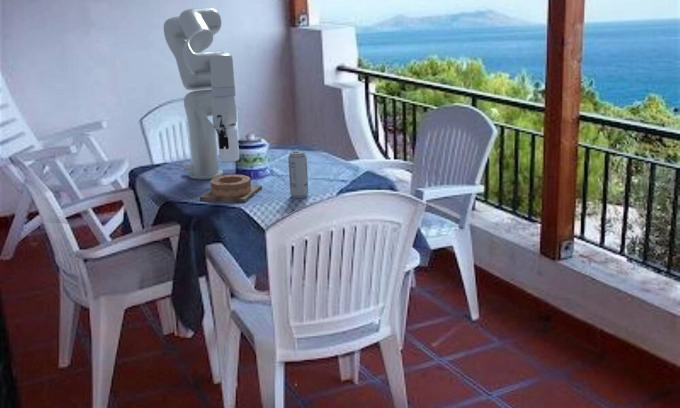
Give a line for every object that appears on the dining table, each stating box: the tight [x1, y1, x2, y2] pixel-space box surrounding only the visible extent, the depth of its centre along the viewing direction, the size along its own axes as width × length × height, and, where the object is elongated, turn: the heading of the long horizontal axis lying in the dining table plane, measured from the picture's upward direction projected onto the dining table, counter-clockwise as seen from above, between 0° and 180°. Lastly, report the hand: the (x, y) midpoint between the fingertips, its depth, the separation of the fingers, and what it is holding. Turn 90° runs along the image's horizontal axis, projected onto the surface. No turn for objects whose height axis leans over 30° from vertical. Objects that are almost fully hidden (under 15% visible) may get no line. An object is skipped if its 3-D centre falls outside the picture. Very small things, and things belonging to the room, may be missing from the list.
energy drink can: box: [287, 150, 309, 199], centre depth 242 cm, size 6×6×15 cm
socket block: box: [199, 174, 263, 203], centre depth 247 cm, size 16×16×5 cm
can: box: [217, 124, 240, 163], centre depth 242 cm, size 6×6×12 cm
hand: (228, 146), depth 243 cm, fingers closed on can, 5 cm apart
